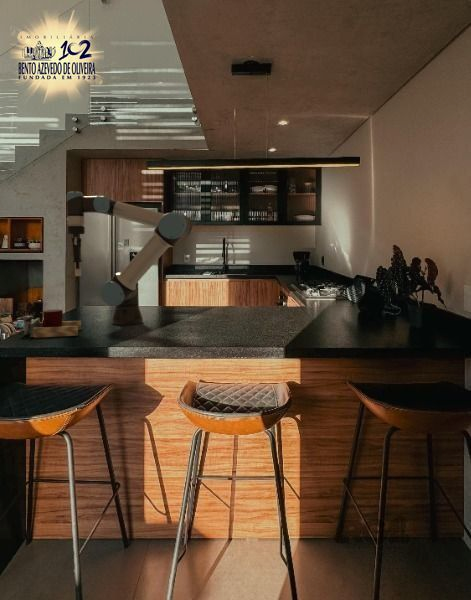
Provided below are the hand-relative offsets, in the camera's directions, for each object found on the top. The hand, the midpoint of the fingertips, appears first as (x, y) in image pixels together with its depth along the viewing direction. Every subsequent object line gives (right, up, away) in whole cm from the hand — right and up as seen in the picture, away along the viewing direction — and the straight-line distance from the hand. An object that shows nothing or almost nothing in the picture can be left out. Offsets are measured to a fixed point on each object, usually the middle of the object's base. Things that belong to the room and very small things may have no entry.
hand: (78, 275), depth 234 cm
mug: (-7, -26, -14) cm, 31 cm away
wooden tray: (-4, -26, -14) cm, 30 cm away
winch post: (-16, -27, -17) cm, 36 cm away
